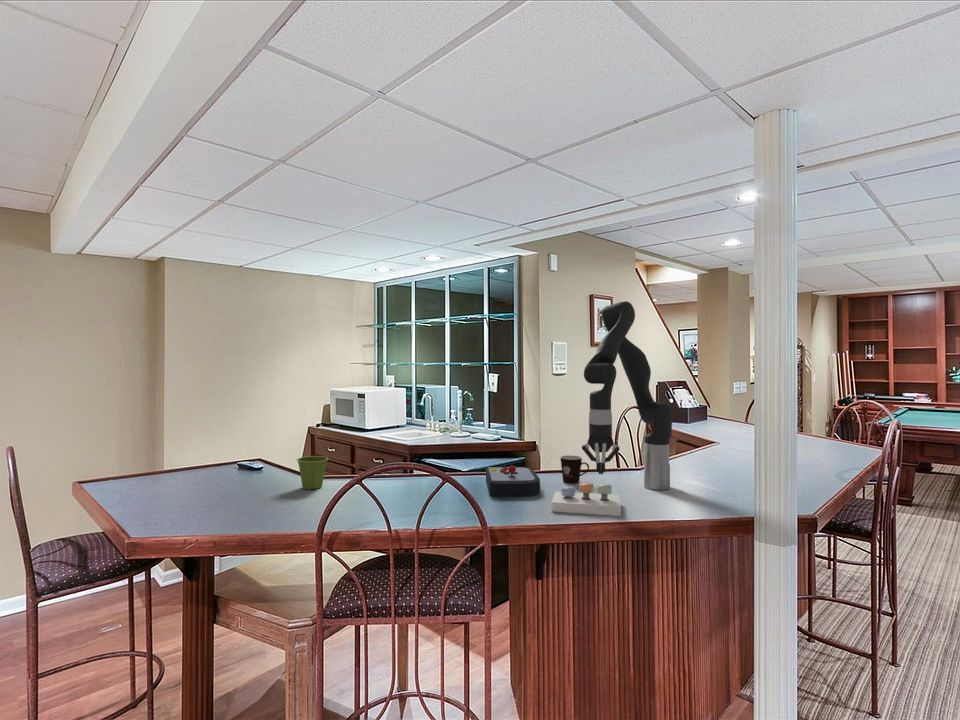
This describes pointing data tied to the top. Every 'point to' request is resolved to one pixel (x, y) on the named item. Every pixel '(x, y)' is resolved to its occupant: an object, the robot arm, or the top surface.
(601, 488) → the sage button
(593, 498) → the console
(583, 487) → the terracotta button
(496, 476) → the arcade joystick
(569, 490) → the slate button
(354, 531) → the top surface
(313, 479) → the plant pot
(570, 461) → the coffee mug
